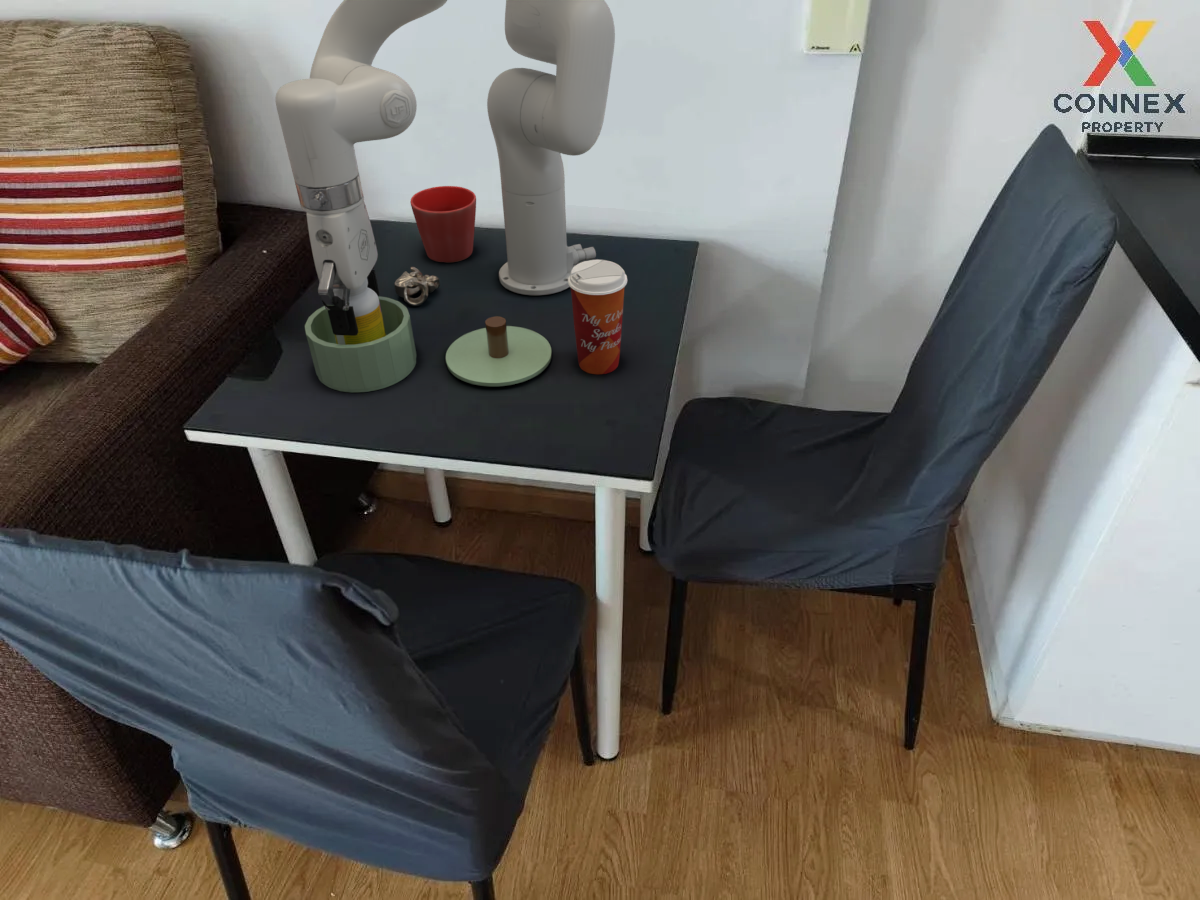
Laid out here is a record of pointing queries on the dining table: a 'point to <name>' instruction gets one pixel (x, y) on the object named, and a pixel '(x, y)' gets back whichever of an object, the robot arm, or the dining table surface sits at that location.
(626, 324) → the dining table surface
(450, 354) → the pot lid
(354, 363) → the pot
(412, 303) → the ornament
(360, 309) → the supplement bottle
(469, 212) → the flower pot
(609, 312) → the paper cup
